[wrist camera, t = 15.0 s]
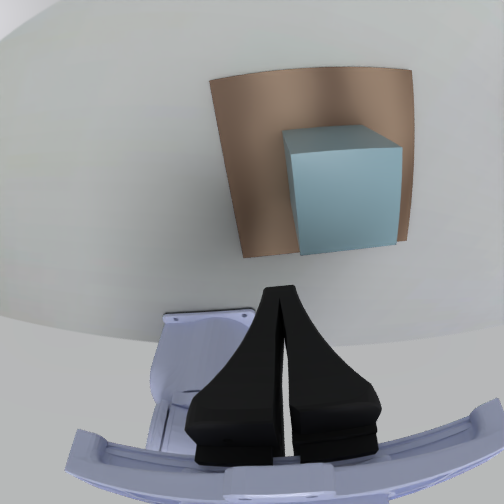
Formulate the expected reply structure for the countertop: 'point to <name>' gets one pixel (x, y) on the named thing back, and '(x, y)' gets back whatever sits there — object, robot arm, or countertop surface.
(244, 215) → the post stand
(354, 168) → the grey-blue cube
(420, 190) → the countertop surface
